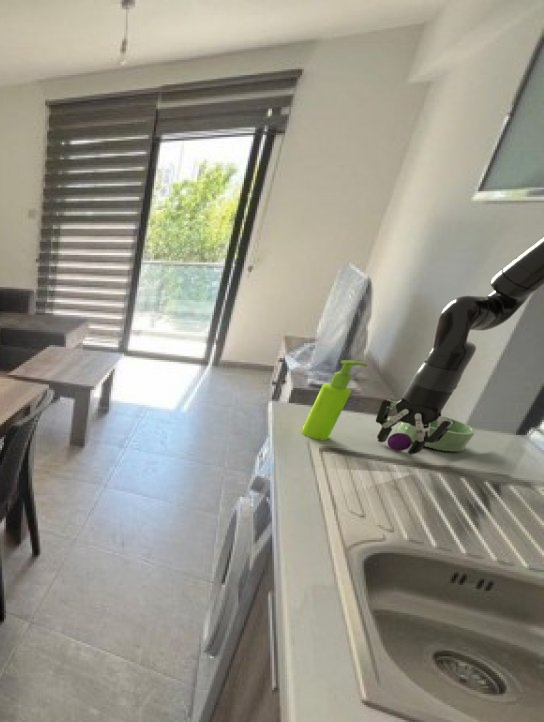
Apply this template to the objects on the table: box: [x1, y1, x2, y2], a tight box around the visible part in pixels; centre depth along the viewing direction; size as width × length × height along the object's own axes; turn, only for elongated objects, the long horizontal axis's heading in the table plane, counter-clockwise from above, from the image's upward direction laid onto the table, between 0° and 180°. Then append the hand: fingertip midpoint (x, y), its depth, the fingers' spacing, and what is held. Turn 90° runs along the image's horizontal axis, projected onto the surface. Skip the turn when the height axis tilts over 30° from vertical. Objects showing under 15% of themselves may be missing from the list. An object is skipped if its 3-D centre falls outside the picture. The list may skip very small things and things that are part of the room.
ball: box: [387, 432, 413, 452], centre depth 119 cm, size 4×4×4 cm
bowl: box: [396, 415, 476, 452], centre depth 124 cm, size 13×13×6 cm
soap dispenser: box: [301, 359, 368, 441], centre depth 120 cm, size 6×7×20 cm
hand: (396, 447), depth 120 cm, fingers open, 6 cm apart
